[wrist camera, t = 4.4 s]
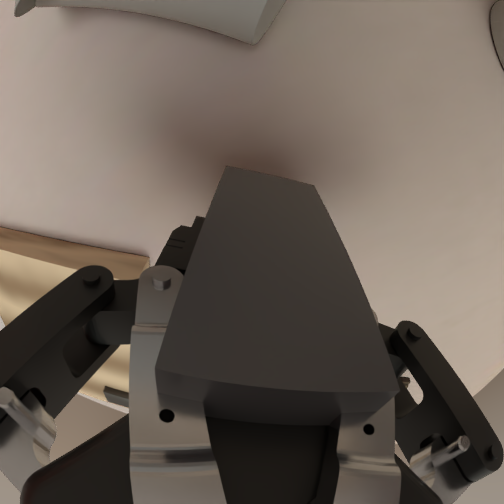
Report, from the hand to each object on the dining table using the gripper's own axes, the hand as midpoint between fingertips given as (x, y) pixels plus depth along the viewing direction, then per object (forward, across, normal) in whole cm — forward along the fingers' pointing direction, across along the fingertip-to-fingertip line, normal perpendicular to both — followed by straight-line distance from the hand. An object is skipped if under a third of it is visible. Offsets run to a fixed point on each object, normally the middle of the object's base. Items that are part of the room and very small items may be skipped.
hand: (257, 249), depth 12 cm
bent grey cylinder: (+7, +10, -18) cm, 22 cm away
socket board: (+6, +15, +16) cm, 23 cm away
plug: (+2, 0, +1) cm, 3 cm away
